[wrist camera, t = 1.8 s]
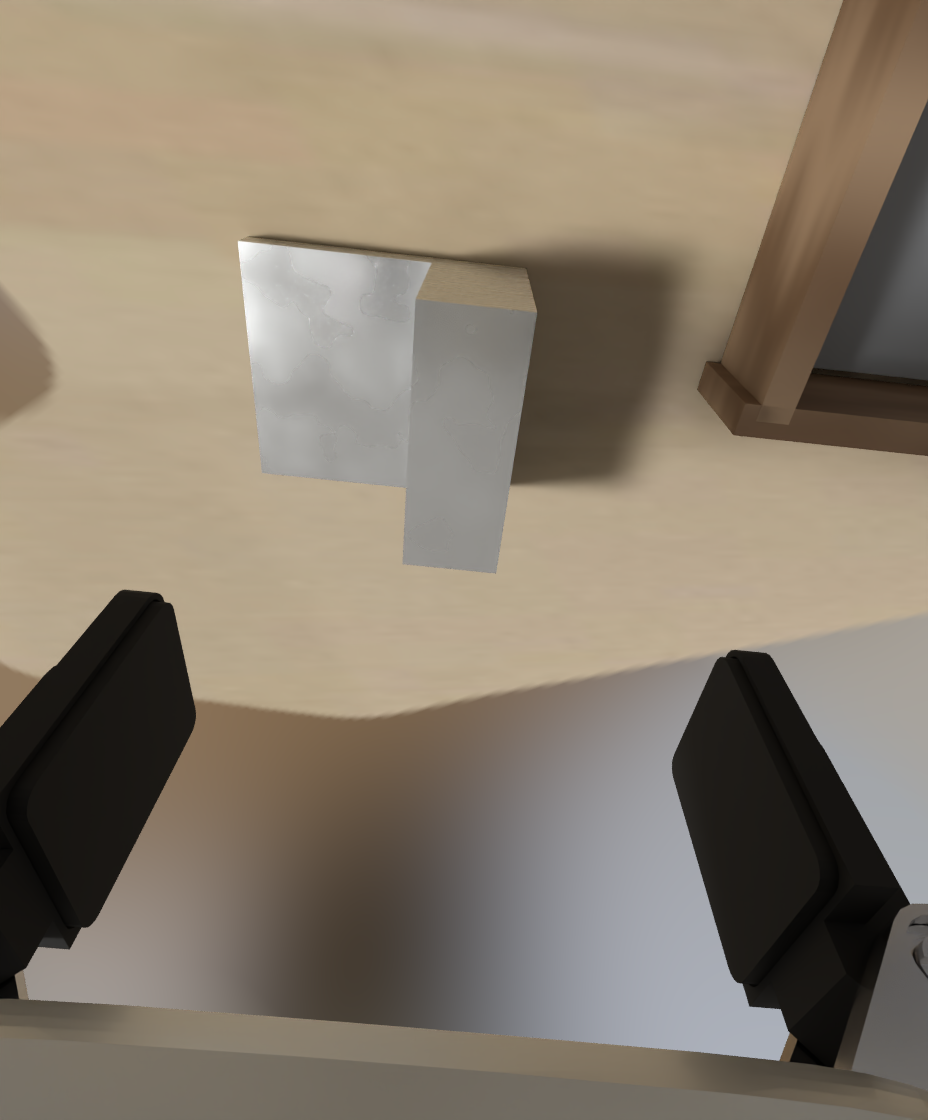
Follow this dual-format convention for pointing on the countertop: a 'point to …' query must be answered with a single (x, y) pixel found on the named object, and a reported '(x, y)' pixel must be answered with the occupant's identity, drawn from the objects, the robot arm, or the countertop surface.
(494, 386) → the aluminium bracket
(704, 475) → the countertop surface
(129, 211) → the countertop surface
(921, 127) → the slate mat
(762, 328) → the walnut corner walls
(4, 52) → the countertop surface
